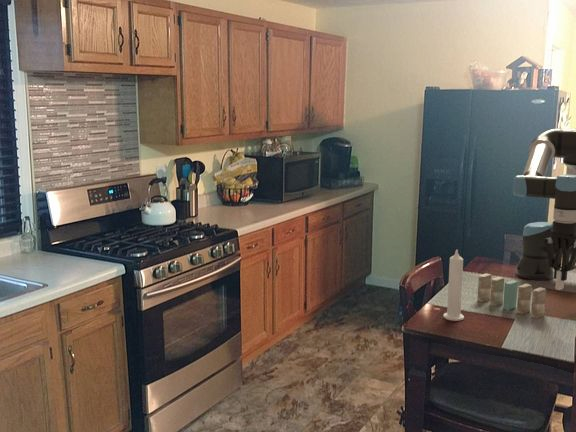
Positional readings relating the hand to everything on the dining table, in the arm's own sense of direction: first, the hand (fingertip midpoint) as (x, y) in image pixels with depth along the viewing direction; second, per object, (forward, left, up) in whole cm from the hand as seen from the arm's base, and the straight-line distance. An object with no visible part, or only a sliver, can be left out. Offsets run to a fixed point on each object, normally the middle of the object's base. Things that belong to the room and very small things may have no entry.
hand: (559, 288), depth 201 cm
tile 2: (0, -13, -12) cm, 18 cm away
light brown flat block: (0, -29, -12) cm, 32 cm away
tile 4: (0, -24, -12) cm, 27 cm away
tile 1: (0, -7, -12) cm, 14 cm away
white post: (+24, -25, -12) cm, 37 cm away
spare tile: (0, -18, -12) cm, 22 cm away
